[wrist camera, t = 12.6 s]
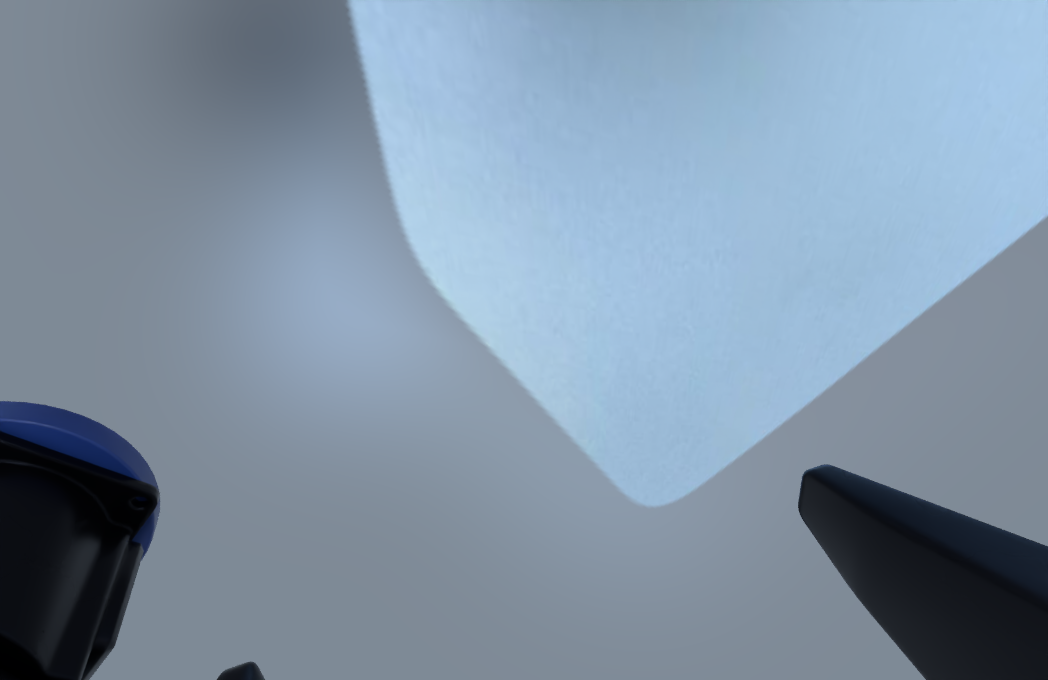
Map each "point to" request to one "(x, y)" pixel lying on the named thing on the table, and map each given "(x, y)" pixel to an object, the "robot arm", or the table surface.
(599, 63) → the table surface
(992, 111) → the table surface
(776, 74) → the table surface
